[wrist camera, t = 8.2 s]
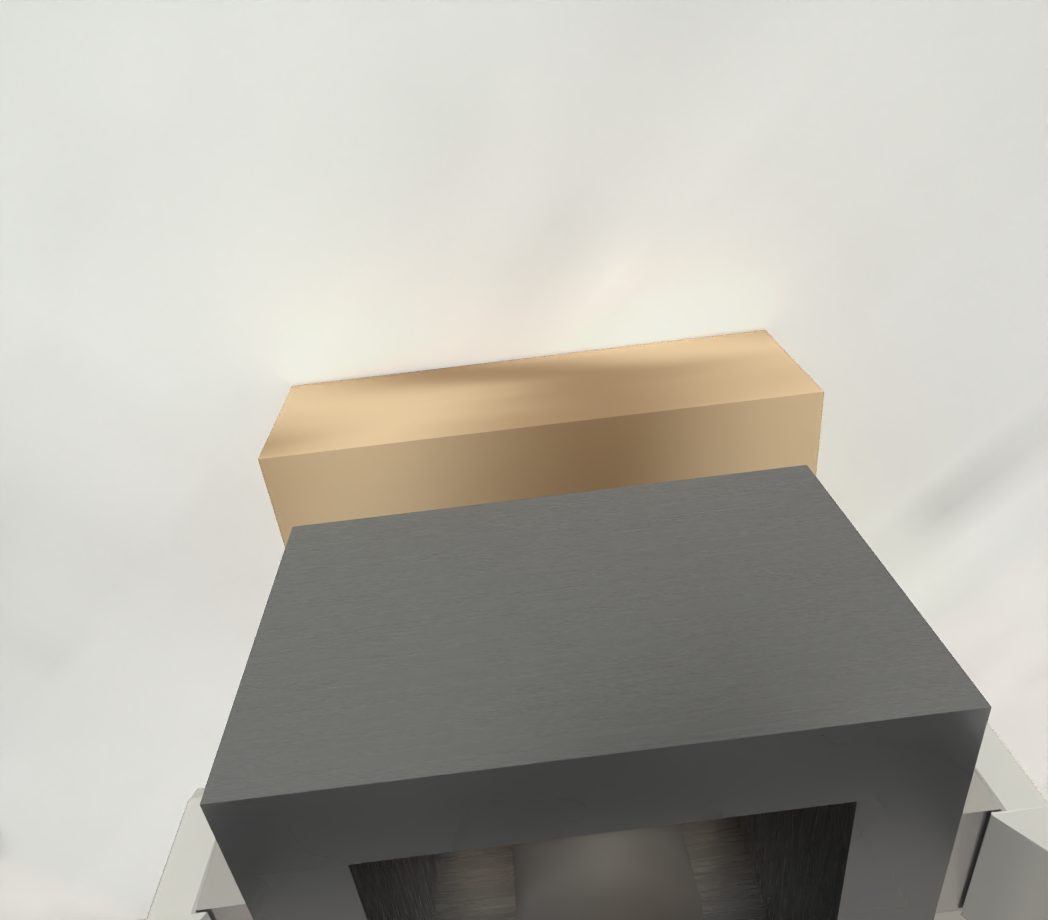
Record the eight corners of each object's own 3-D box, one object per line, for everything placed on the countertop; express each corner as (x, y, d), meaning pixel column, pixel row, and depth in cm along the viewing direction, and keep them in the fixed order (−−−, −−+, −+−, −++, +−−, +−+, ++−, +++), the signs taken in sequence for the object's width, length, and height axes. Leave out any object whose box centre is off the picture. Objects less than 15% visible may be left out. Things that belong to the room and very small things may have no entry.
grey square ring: (388, 849, 13) (361, 1151, 10) (291, 526, 10) (199, 805, 6) (776, 800, 13) (889, 1083, 10) (806, 464, 10) (992, 707, 6)
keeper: (372, 687, 17) (314, 1119, 10) (292, 385, 13) (124, 746, 7) (748, 642, 17) (929, 1041, 10) (765, 330, 13) (1055, 632, 7)
